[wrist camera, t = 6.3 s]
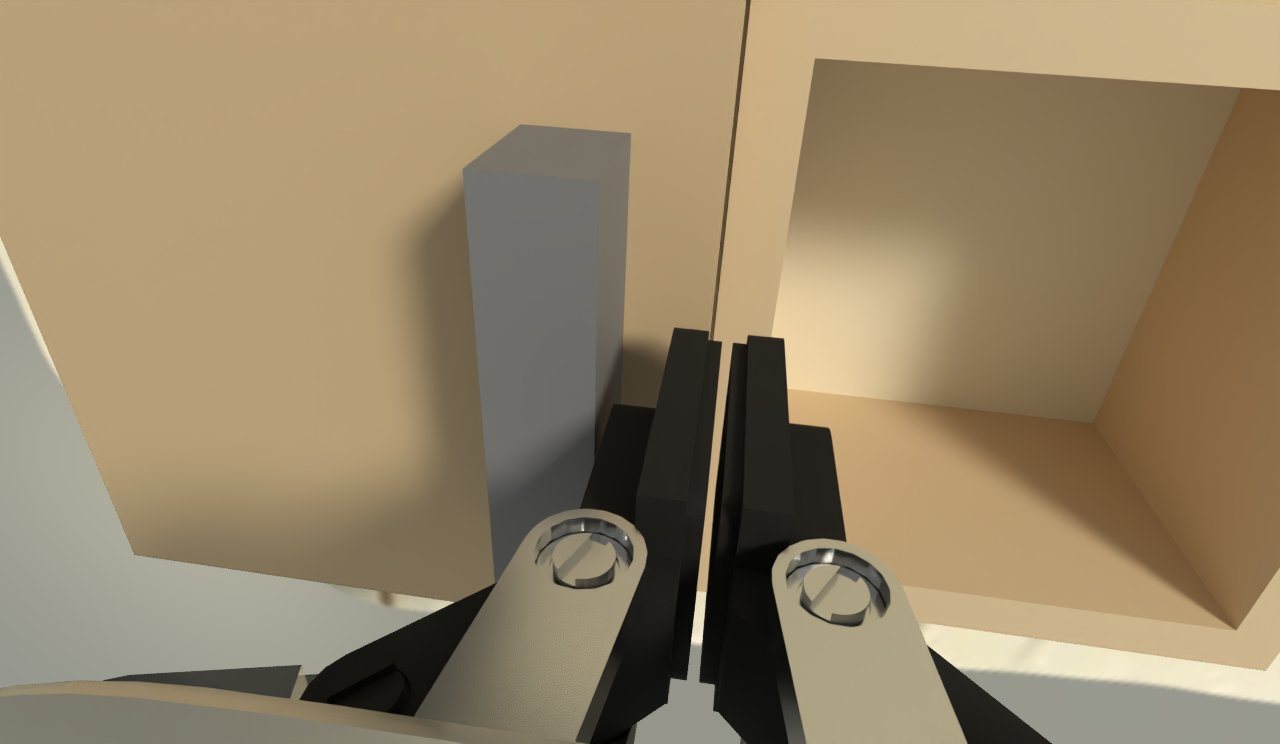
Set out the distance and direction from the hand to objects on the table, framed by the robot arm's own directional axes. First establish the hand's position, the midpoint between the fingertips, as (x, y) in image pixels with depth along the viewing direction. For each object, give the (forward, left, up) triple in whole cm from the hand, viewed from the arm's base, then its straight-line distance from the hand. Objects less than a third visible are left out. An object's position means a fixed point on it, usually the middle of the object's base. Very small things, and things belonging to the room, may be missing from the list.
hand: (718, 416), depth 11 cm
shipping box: (0, +6, -10) cm, 12 cm away
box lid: (0, -7, -2) cm, 7 cm away
